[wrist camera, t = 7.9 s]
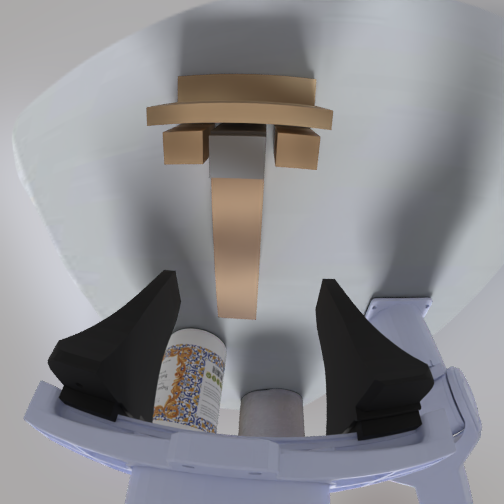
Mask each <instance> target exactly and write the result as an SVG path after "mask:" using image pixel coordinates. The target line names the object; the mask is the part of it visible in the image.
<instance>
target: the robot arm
mask: <svg viewBox="0 0 504 504" xmlns="http://www.w3.org/2000/svg"><path fill="white" fill-rule="evenodd" d="M432 302H433V301H432V299H431V298H375V299H373V300H372V301H371V302H370V305H369V307H368V310H367V312H366V315H365V316H364V315H363V314H362V313H361V312H360V311H359V310H358V308H357V307H356V306H355V305H354V304H353V302H352V301H351V300H350V298H349V297H348V296H347V295H346V293H345V292H344V291H343V289H342V288H341V287H340V285H339V284H338V283H337V281H336V280H335V279H323V280H322V284H321V289H320V293H319V297H318V301H317V305H316V322H317V330H318V335H319V340H320V345H321V350H322V355H323V360H324V366H325V376H326V395H327V425H326V436H310V437H253V436H236V435H225V434H215V433H207V432H199V431H192V430H186V429H180V428H174V427H169V426H164V425H159V424H154V423H153V413H154V404H155V397H156V390H157V384H158V379H159V374H160V369H161V364H162V360H163V357H164V353H165V351H166V348H167V345H168V342H169V339H170V337H171V334H172V331H173V328H174V326H175V323H176V320H177V316H178V312H179V308H180V303H181V300H180V294H179V289H178V283H177V277H176V271H169V270H164V271H163V272H161V273H160V274H159V275H158V276H157V277H156V278H155V279H154V280H153V281H152V282H151V283H150V284H149V285H148V286H147V287H145V288H144V289H143V290H142V291H141V292H140V293H139V294H138V295H137V296H135V297H134V298H133V299H132V300H131V301H129V302H128V303H127V304H126V305H125V306H123V307H122V308H121V309H119V310H118V311H117V312H115V313H114V314H112V315H111V316H109V317H108V318H106V319H104V320H103V321H101V322H99V323H98V324H96V325H94V326H92V327H90V328H88V329H86V330H84V331H83V332H80V333H78V334H75V335H73V336H70V337H68V338H65V339H62V340H59V341H58V343H57V345H56V346H55V348H54V350H53V352H52V354H51V355H50V357H49V359H48V365H49V367H50V369H51V370H52V372H53V373H54V374H55V375H56V377H57V378H58V379H59V380H60V381H61V383H62V384H63V385H64V387H63V389H62V390H61V389H59V388H58V387H56V386H54V385H51V384H49V383H47V382H44V381H40V383H39V385H38V387H37V389H36V392H35V394H34V396H33V398H32V400H31V402H30V404H29V407H28V409H27V411H26V413H25V416H24V420H25V421H26V422H27V423H28V424H30V425H31V426H32V427H34V428H35V429H36V430H38V431H39V432H40V433H42V434H43V435H44V436H46V437H47V438H49V439H50V440H52V441H54V442H55V443H57V444H59V445H61V446H64V447H65V448H67V449H69V450H71V451H73V452H76V453H78V454H80V455H82V456H84V457H86V458H89V459H91V460H93V461H96V462H98V463H100V464H103V465H105V466H108V467H110V468H113V469H116V470H118V471H121V472H124V473H127V474H130V475H131V476H130V481H129V485H128V490H127V494H126V500H125V504H330V493H332V492H338V491H344V490H349V489H354V488H359V487H364V486H368V485H372V484H376V483H380V482H384V481H388V480H390V481H393V482H396V483H400V484H404V485H408V486H411V487H414V488H415V489H416V493H417V496H418V500H419V504H473V500H472V495H471V491H470V486H469V483H468V479H467V475H466V471H465V467H464V462H465V461H466V459H467V458H468V456H469V455H470V453H471V452H472V450H473V449H474V447H475V446H476V444H477V443H478V441H479V439H480V436H481V430H482V424H481V420H480V417H479V414H478V408H477V405H476V402H475V399H474V396H473V393H472V391H471V388H470V386H469V384H468V382H467V380H466V378H465V376H464V374H463V372H462V371H461V370H460V369H459V368H456V367H453V366H451V367H450V368H448V369H447V368H446V367H445V364H444V362H443V360H442V357H441V355H440V352H439V350H438V348H437V346H436V344H435V341H434V339H433V337H432V335H431V333H430V330H429V328H428V326H427V324H426V322H425V320H424V317H425V315H426V313H427V311H428V309H429V308H430V306H431V304H432ZM373 306H374V307H373ZM463 429H464V430H463ZM461 430H463V431H461ZM460 431H461V432H460ZM458 432H460V433H459V434H458V435H456V436H454V437H453V435H454V434H456V433H458Z"/></svg>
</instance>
